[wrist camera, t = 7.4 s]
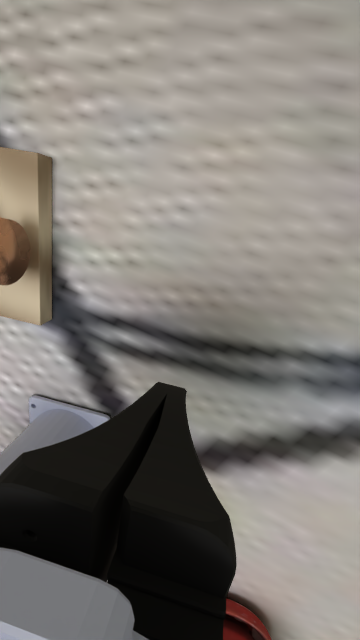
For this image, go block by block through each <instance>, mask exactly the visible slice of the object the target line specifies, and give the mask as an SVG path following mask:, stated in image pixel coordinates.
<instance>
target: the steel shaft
mask: <svg viewBox="0 0 360 640" xmlns="http://www.w3.org/2000/svg"><path fill="white" fill-rule="evenodd" d="M30 251H31V250H30V242H29V238H28V236H27V233H26V231H25V230H24V228H23V227H22V226H21V225H20V224H19V223H17V222H16V221H14V220H10V219H5V218H0V285H11V284H13V283H15V282H17V281H18V280H19V279H20V278H21V277H22V276H23V275H24V273H25V271H26V269H27V267H28V264H29V261H30Z"/></svg>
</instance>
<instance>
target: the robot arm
mask: <svg viewBox="0 0 360 640" xmlns="http://www.w3.org/2000/svg"><path fill="white" fill-rule="evenodd" d="M186 392H187V391H186V390H185V389H184V388H180V387H177V386H173V385H169V384H165V383H161V382H158V383H156V384H155V385H154V386H153V387H152V388H151V389H150V390H149V391H148V392H146V393H145V394H144V395H143V396H142V397H140V398H139V399H138V400H137V401H135V402H134V403H133V404H132V405H130V406H129V407H128V408H126V409H125V410H123V411H122V412H120V413H119V414H118V415H116V416H114V417H113V418H111V419H110V417H109V416H108V415H106V414H103V413H99V412H95V411H92V410H88V409H84V408H81V407H77V406H73V405H70V404H66V403H62V402H59V401H55V400H51V399H48V398H44V397H40V396H37V395H32V396H31V397H30V398H29V420H30V425H29V426H28V427H27V428H26V429H25V430H24V431H23V432H22V433H21V434H20V435H19V436H18V437H17V438H16V439H15V440H14V441H13V442H12V443H11V444H10V445H9V446H8V447H7V448H6V449H5V450H4V451H3V452H2V453H1V454H0V640H223V623H224V619H225V616H226V596H227V594H228V591H229V588H230V586H231V583H232V581H233V578H234V576H235V571H236V551H235V543H234V537H233V532H232V527H231V522H230V518H229V515H228V514H227V512H226V511H225V509H224V508H223V506H222V505H221V503H220V501H219V500H218V498H217V496H216V494H215V493H214V491H213V489H212V487H211V485H210V483H209V481H208V479H207V477H206V475H205V473H204V471H203V468H202V466H201V464H200V461H199V459H198V456H197V454H196V451H195V448H194V445H193V441H192V438H191V434H190V430H189V425H188V420H187V413H186ZM34 404H35V405H34ZM107 580H108V581H107Z"/></svg>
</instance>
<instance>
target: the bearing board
mask: <svg viewBox="0 0 360 640" xmlns="http://www.w3.org/2000/svg"><path fill="white" fill-rule="evenodd" d="M0 218H5V219H10V220H14V221H16V222H17V223H19V224H20V225H21V226H22V227H23V228H24V230H25V231H26V233H27V236H28V238H29V242H30V250H31V251H30V261H29V264H28V267H27V269H26V271H25V273H24V275H23V276H22V277H21V278H20V279H19V280H18V281H17V282H15V283H13V284H11V285H0V316H3V317H7V318H12V319H16V320H20V321H24V322H28V323H32V324H37V325H42V324H44V323H46V322H48V321H50V320H51V319H52V158H51V157H48V156H45V155H42V154H39V153H34V152H28V151H22V150H15V149H9V148H3V147H0Z"/></svg>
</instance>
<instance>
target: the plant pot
mask: <svg viewBox="0 0 360 640" xmlns="http://www.w3.org/2000/svg"><path fill="white" fill-rule="evenodd" d="M223 640H271V637H270V635H269V633H268V631H267V629H266V628H265V626H264V625H263V623H262V622H261V621H260V620H259V618H258V617H257V616H256V615H255V614H254V613H252V612H251V611H250V610H249V609H247V608H246V607H244V606H242V605H241V604H239V603H237V602H235V601H232V600H229V599H226V616H225V619H224V623H223Z"/></svg>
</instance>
